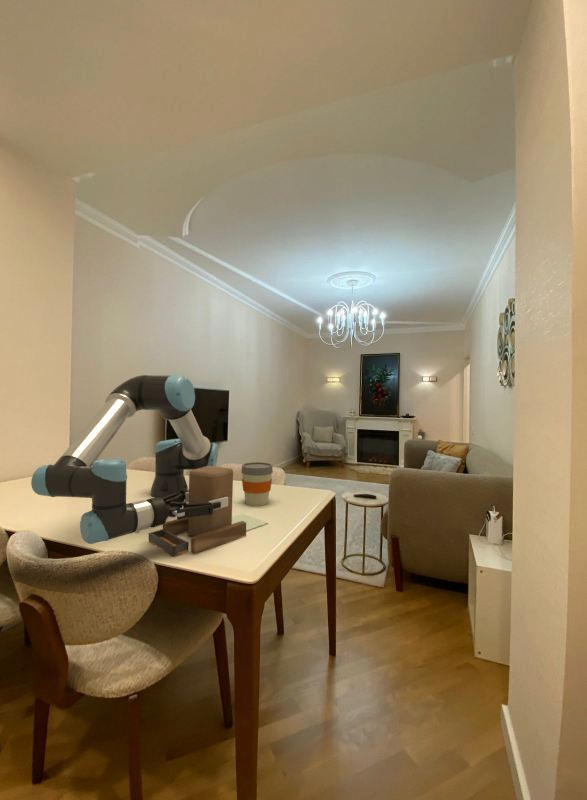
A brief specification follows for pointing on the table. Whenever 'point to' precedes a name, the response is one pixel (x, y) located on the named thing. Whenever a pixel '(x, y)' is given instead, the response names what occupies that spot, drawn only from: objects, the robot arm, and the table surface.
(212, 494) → the block
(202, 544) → the alley
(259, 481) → the reusable coffee cup
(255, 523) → the pad
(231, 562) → the table surface
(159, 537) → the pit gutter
